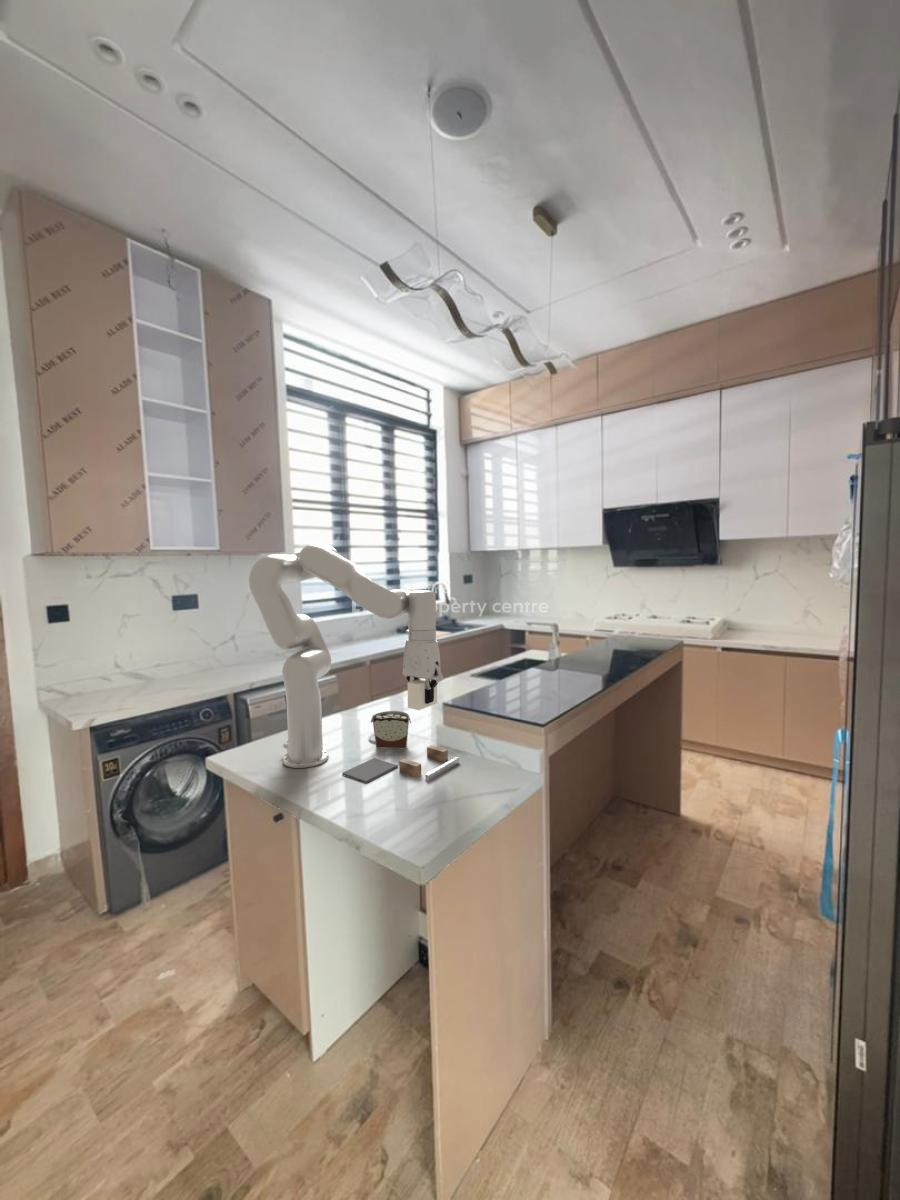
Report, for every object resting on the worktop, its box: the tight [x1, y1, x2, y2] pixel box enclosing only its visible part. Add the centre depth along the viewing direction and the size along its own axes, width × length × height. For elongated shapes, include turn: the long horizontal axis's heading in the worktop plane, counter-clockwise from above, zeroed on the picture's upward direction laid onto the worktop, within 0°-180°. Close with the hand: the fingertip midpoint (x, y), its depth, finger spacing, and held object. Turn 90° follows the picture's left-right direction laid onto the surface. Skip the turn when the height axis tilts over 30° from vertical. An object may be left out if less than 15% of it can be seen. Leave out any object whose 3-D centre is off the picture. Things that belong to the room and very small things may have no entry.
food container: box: [370, 710, 412, 750], centre depth 152 cm, size 12×6×10 cm, turn 84°
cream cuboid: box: [407, 677, 438, 711], centre depth 135 cm, size 4×8×7 cm, turn 144°
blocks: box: [398, 744, 460, 782], centre depth 135 cm, size 10×14×3 cm
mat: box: [342, 757, 399, 784], centre depth 133 cm, size 9×12×1 cm
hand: (422, 700), depth 135 cm, fingers closed on cream cuboid, 4 cm apart
